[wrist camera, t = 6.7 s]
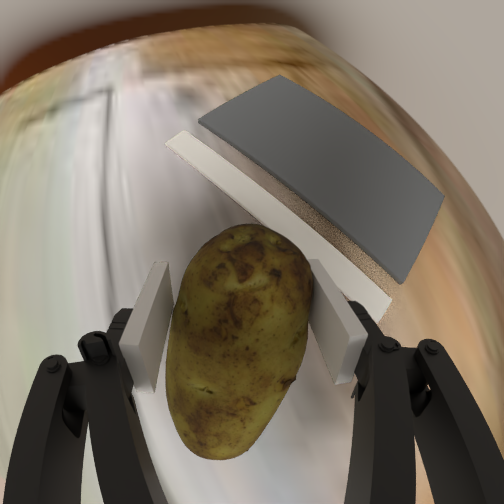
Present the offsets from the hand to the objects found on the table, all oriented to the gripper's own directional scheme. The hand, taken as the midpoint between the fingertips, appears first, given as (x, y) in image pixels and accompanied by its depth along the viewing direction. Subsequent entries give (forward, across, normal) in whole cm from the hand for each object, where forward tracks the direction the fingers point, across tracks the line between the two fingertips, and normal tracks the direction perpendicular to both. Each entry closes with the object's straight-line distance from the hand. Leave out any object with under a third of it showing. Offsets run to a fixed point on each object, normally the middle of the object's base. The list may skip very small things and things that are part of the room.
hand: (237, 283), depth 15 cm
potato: (+1, -1, -6) cm, 6 cm away
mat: (+13, +10, +6) cm, 17 cm away
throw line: (+8, +3, +2) cm, 9 cm away
